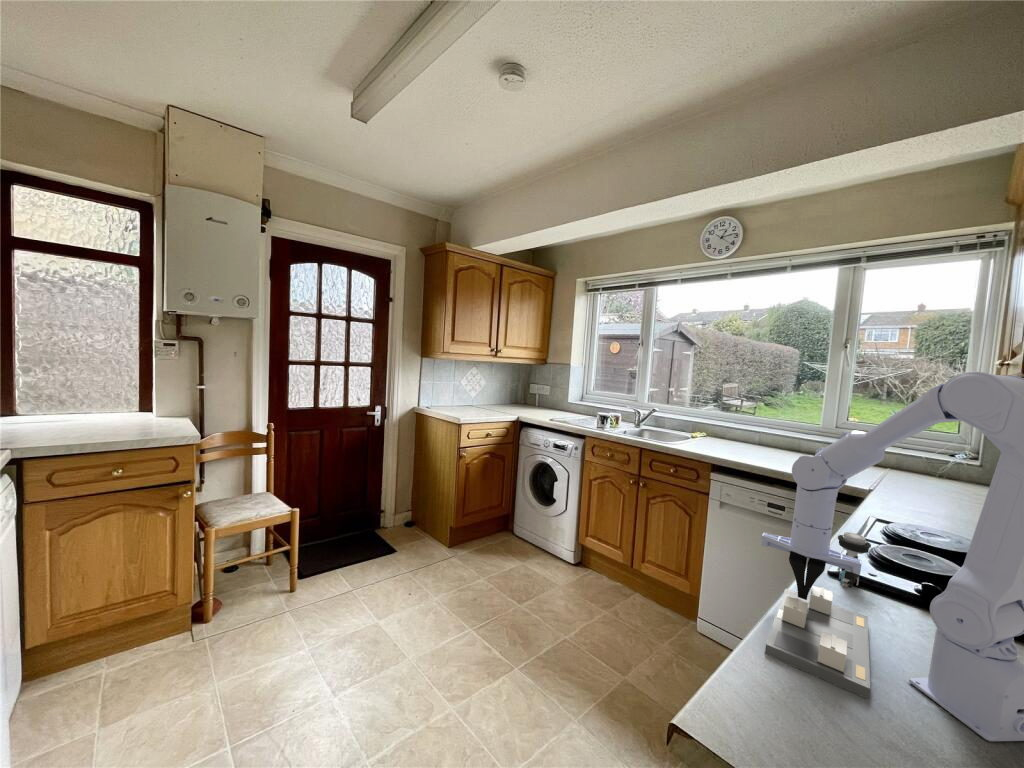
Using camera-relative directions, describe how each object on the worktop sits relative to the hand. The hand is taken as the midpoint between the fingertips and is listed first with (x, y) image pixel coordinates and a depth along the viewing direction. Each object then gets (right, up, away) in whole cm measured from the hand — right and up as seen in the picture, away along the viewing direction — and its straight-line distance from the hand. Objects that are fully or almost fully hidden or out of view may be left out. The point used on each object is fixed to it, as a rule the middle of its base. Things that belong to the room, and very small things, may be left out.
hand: (802, 596), depth 76 cm
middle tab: (-5, -1, -6) cm, 8 cm away
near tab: (-6, -1, -15) cm, 17 cm away
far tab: (+2, -1, -2) cm, 3 cm away
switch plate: (-3, -3, -8) cm, 9 cm away
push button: (+17, -3, +11) cm, 20 cm away
